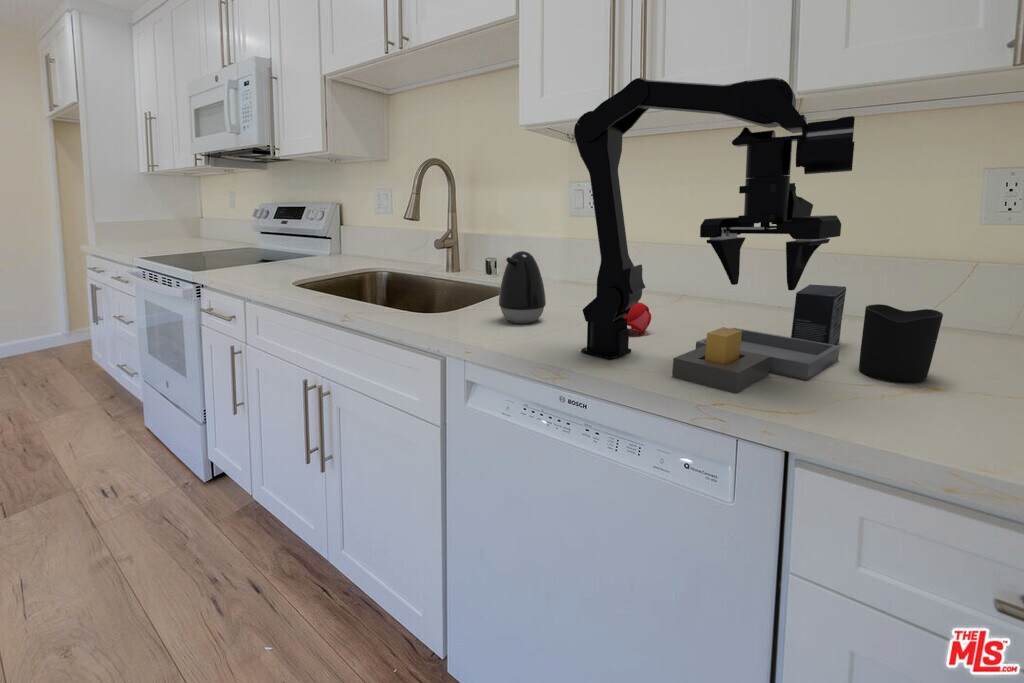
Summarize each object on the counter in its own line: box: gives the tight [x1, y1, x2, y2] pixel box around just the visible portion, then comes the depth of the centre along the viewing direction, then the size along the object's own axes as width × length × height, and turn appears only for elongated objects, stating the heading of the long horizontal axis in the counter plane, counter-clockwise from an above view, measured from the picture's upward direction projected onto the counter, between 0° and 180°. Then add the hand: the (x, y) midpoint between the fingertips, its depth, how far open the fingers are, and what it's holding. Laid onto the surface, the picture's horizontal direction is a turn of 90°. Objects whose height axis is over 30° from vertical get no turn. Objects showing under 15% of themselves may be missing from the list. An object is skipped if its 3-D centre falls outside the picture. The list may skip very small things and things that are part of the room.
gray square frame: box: [671, 345, 771, 394], centre depth 84 cm, size 10×11×3 cm
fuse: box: [705, 327, 742, 365], centre depth 83 cm, size 3×5×7 cm, turn 134°
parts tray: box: [695, 327, 841, 381], centre depth 92 cm, size 18×14×2 cm
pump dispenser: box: [498, 250, 547, 324], centre depth 119 cm, size 10×10×15 cm
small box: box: [790, 284, 847, 345], centre depth 98 cm, size 11×6×10 cm, turn 141°
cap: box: [623, 301, 652, 336], centre depth 109 cm, size 8×6×6 cm
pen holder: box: [858, 303, 944, 384], centre depth 83 cm, size 9×9×10 cm
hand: (761, 287), depth 81 cm, fingers open, 9 cm apart
